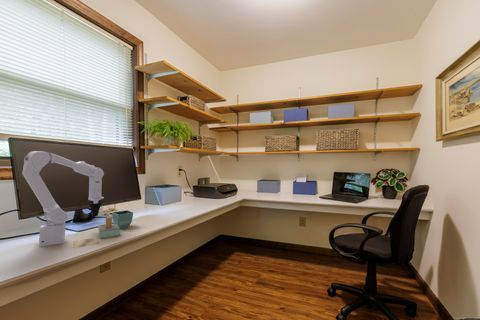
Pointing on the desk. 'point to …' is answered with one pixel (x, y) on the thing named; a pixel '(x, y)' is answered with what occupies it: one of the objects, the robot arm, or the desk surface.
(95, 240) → the mat
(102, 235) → the dish
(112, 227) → the lid
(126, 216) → the flower pot
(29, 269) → the desk surface
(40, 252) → the desk surface
